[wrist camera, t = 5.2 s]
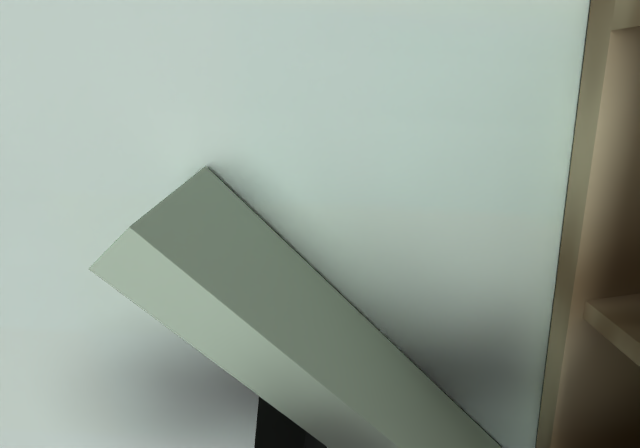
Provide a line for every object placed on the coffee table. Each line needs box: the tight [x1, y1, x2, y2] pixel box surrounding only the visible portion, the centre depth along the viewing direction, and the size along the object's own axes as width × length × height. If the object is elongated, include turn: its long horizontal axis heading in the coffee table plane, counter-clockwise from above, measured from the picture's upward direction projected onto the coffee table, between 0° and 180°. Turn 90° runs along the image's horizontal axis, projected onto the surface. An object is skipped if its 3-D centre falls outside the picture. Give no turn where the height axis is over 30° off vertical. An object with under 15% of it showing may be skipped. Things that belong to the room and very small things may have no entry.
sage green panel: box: [89, 166, 501, 448], centre depth 9 cm, size 16×1×4 cm, turn 42°
